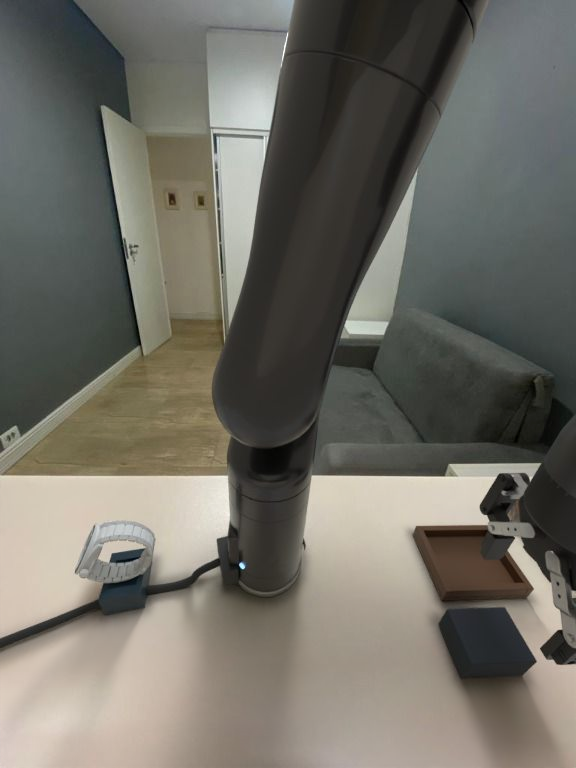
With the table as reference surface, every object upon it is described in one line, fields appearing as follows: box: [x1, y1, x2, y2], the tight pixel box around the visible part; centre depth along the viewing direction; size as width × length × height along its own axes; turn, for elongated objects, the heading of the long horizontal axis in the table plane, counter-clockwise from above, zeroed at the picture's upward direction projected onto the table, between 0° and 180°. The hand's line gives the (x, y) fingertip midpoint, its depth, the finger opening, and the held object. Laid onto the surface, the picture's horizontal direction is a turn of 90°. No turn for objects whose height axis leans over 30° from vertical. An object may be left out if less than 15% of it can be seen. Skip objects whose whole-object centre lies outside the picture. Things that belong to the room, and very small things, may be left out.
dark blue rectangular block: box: [438, 606, 538, 679], centre depth 34 cm, size 7×5×4 cm
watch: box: [74, 519, 157, 616], centre depth 36 cm, size 6×8×11 cm
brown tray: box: [412, 524, 535, 601], centre depth 43 cm, size 12×9×2 cm
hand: (517, 599), depth 30 cm, fingers open, 8 cm apart
